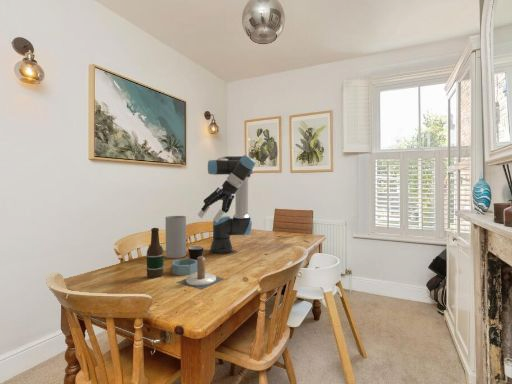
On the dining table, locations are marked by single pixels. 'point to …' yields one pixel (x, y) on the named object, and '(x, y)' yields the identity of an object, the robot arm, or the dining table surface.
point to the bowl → (184, 267)
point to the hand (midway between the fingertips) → (207, 218)
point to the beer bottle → (155, 256)
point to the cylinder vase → (175, 236)
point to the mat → (200, 286)
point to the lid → (200, 275)
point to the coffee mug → (195, 252)
